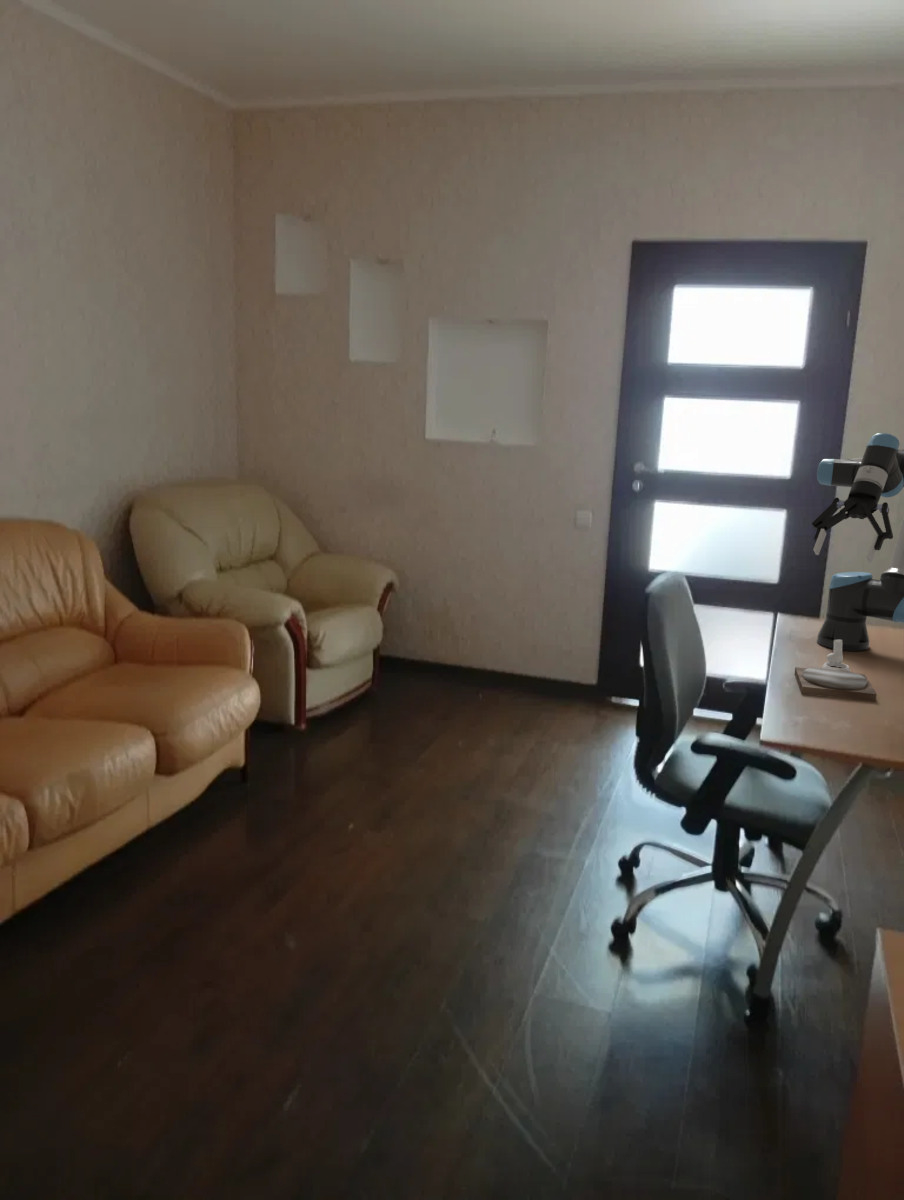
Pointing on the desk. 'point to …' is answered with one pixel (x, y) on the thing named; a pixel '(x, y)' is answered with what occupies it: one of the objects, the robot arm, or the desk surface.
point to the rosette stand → (834, 683)
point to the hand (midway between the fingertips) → (841, 556)
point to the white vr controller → (836, 657)
